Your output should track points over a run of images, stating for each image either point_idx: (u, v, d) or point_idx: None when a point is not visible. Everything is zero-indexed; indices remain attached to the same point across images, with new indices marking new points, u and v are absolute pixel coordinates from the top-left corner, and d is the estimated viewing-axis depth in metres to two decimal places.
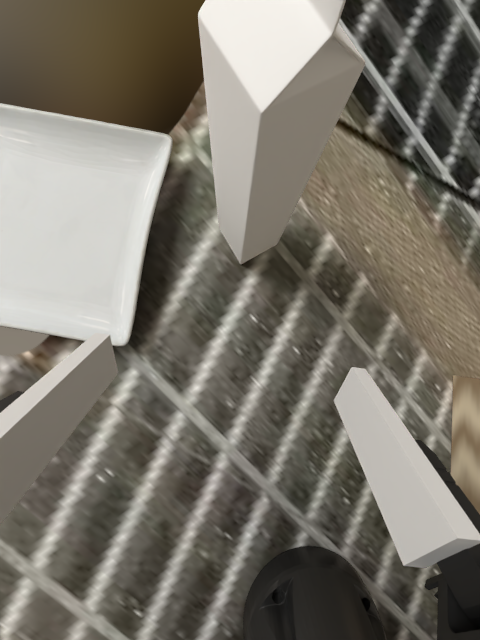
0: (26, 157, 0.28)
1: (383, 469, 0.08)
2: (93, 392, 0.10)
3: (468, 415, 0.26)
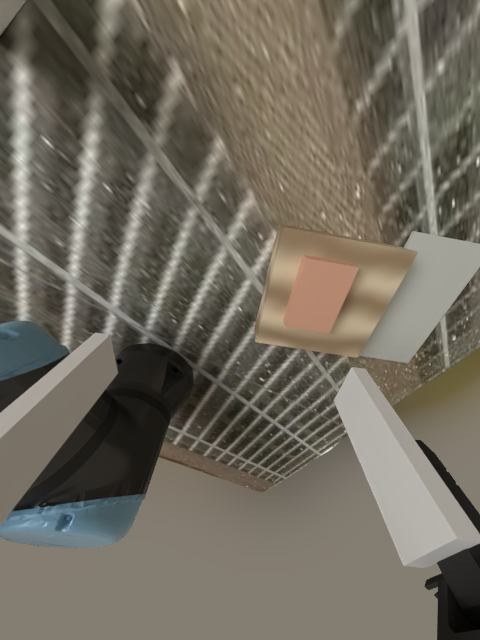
0: None
1: (383, 469, 0.08)
2: (93, 392, 0.10)
3: (272, 263, 0.27)
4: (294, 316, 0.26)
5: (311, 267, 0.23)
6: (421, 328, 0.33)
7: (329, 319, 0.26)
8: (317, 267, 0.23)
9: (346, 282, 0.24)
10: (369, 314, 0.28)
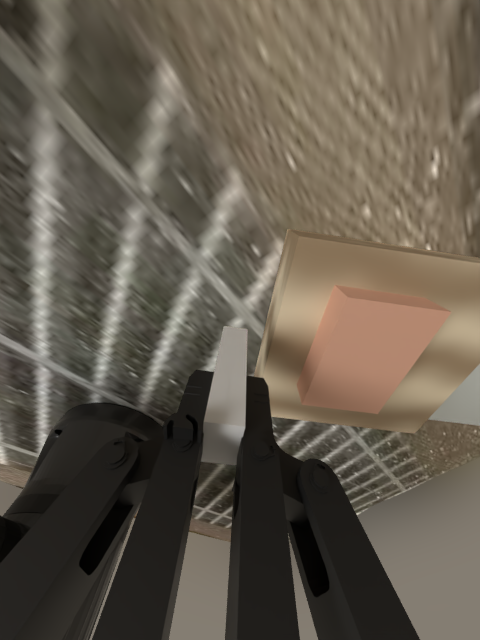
0: None
1: None
2: None
3: (276, 295, 0.16)
4: (318, 390, 0.15)
5: (354, 313, 0.12)
6: None
7: (380, 394, 0.15)
8: (367, 313, 0.12)
9: (421, 338, 0.12)
10: (444, 376, 0.17)
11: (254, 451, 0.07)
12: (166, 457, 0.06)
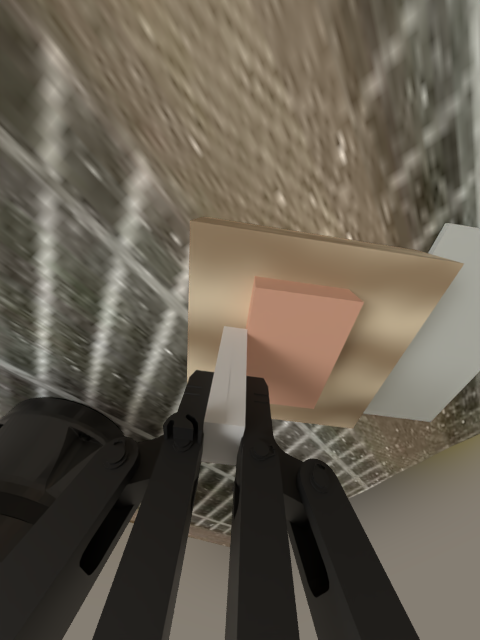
0: None
1: None
2: None
3: None
4: None
5: (266, 303, 0.12)
6: (453, 377, 0.21)
7: (312, 388, 0.15)
8: (279, 304, 0.12)
9: (339, 329, 0.12)
10: (369, 369, 0.16)
11: (254, 451, 0.07)
12: (166, 457, 0.06)
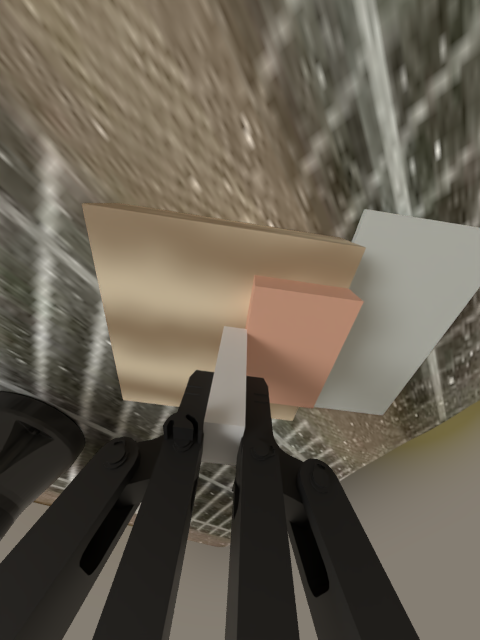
0: None
1: None
2: None
3: None
4: None
5: (265, 302, 0.12)
6: (397, 368, 0.21)
7: (311, 388, 0.15)
8: (278, 303, 0.12)
9: (338, 328, 0.12)
10: None
11: (254, 451, 0.07)
12: (166, 457, 0.06)
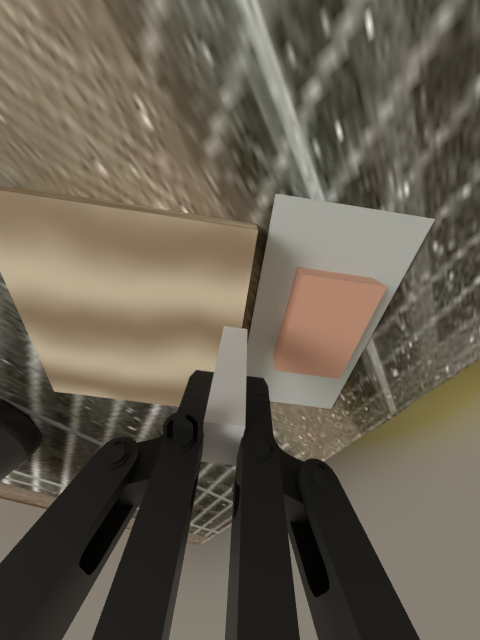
0: None
1: None
2: None
3: None
4: None
5: None
6: None
7: None
8: None
9: None
10: (215, 347, 0.16)
11: (254, 451, 0.07)
12: (166, 457, 0.06)
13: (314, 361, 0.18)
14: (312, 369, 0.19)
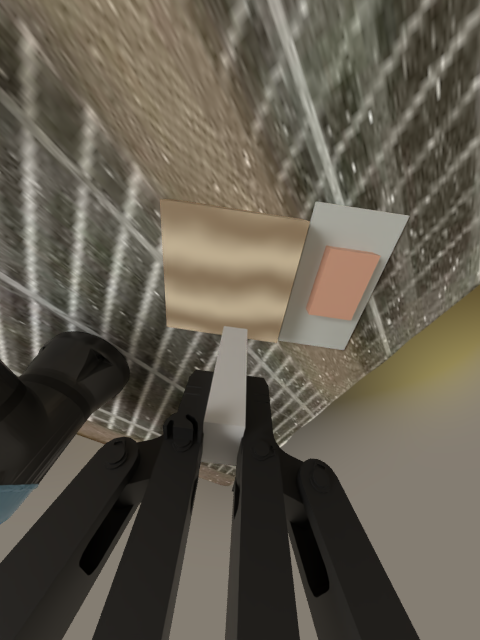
0: None
1: None
2: None
3: None
4: None
5: None
6: None
7: None
8: None
9: None
10: (276, 294, 0.26)
11: (254, 451, 0.07)
12: (166, 457, 0.06)
13: (334, 307, 0.28)
14: (333, 313, 0.29)
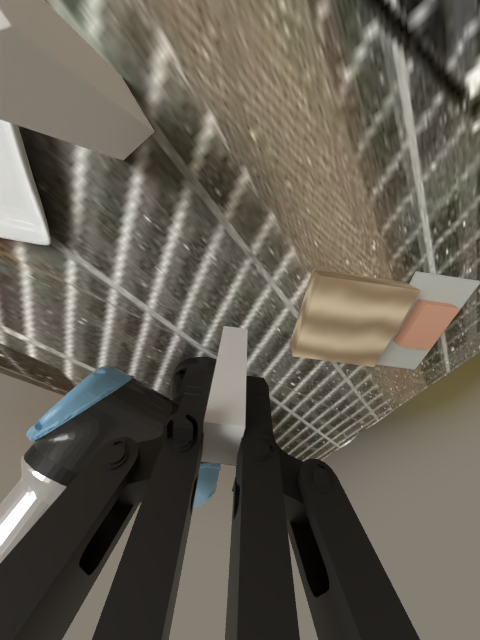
0: None
1: None
2: None
3: (307, 297, 0.36)
4: None
5: None
6: None
7: None
8: None
9: None
10: (383, 334, 0.36)
11: (254, 451, 0.07)
12: (166, 457, 0.06)
13: (419, 341, 0.39)
14: (417, 345, 0.39)
